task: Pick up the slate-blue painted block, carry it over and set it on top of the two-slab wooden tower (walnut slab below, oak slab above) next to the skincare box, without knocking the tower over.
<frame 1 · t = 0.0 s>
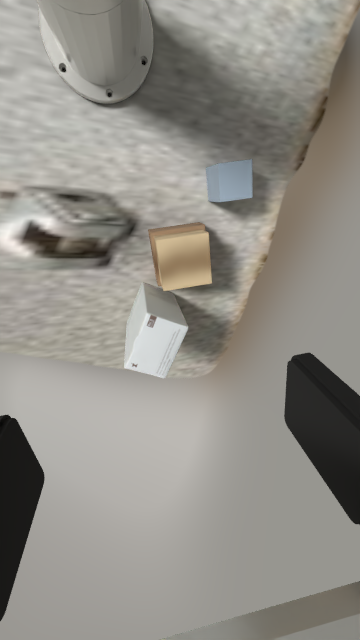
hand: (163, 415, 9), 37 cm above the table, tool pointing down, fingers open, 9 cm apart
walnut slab: (176, 251, 44), on the table, touching oak slab
skincare box: (149, 306, 47), on the table
blue block: (221, 182, 41), on the table
oak slab: (180, 256, 41), point 4 cm above the table, touching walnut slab
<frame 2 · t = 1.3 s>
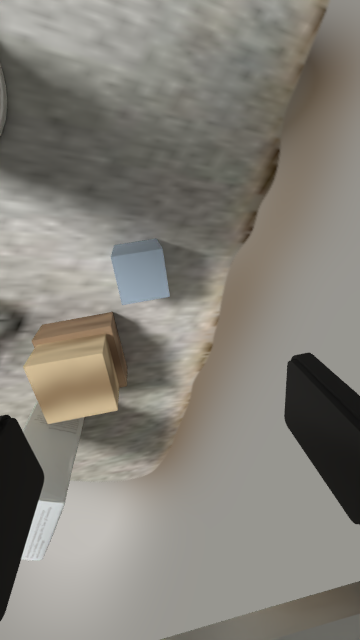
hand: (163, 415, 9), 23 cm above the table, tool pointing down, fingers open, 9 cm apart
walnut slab: (87, 346, 33), on the table, touching oak slab
skincare box: (59, 408, 36), on the table
blue block: (139, 262, 30), on the table
oak slab: (80, 366, 30), point 4 cm above the table, touching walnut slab
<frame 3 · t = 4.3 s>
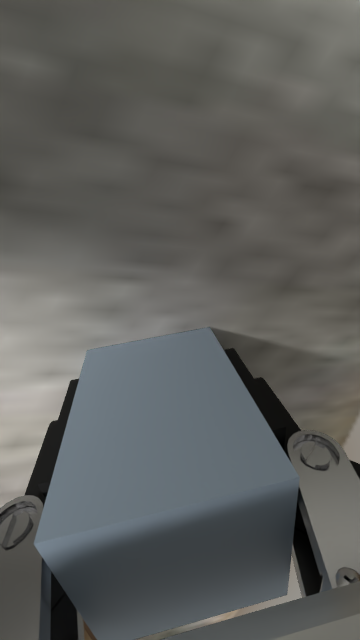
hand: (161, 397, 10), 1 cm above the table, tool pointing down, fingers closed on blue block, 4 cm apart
blue block: (159, 386, 11), on the table, touching gripper
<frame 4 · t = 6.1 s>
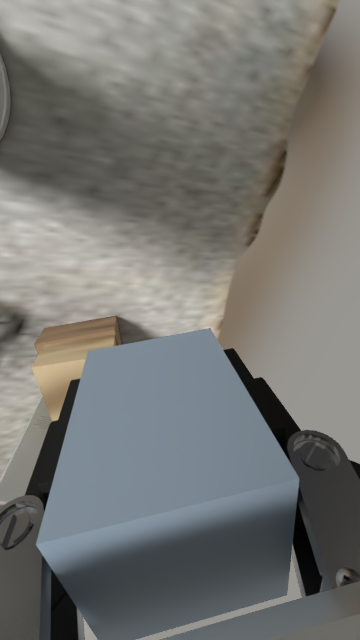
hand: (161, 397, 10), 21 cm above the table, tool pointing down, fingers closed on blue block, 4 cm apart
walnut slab: (90, 350, 33), on the table, touching oak slab
skincare box: (60, 412, 36), on the table
blue block: (159, 387, 11), point 21 cm above the table, touching gripper
oak slab: (87, 367, 29), point 4 cm above the table, touching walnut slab
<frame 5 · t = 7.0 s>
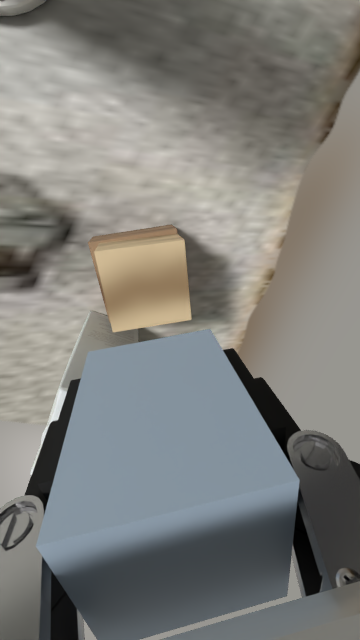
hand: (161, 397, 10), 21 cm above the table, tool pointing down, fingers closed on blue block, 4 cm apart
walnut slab: (140, 268, 30), on the table, touching oak slab
skincare box: (103, 343, 33), on the table
blue block: (159, 388, 11), point 21 cm above the table, touching gripper
oak slab: (144, 275, 26), point 4 cm above the table, touching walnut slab
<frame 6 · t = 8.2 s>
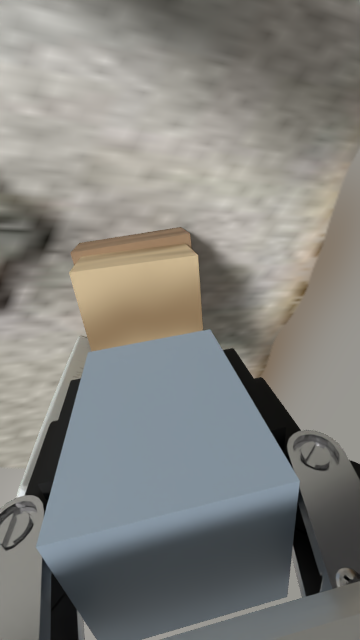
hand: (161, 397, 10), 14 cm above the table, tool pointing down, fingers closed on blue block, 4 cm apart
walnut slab: (140, 282, 23), on the table, touching oak slab
skincare box: (96, 373, 26), on the table
blue block: (159, 388, 11), point 14 cm above the table, touching gripper
oak slab: (142, 297, 20), point 4 cm above the table, touching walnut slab
when the fingers open (9 cm above the table, at t = 9.9 s): blue block drops 1 cm, resting on oak slab.
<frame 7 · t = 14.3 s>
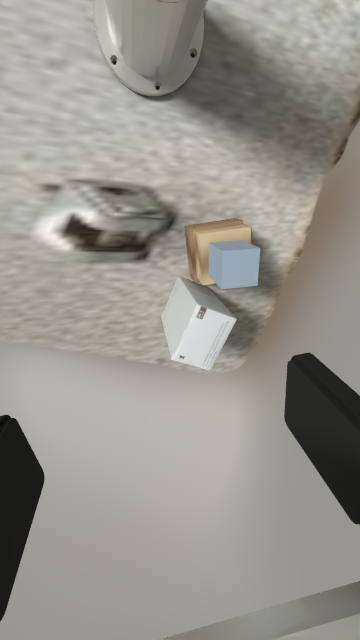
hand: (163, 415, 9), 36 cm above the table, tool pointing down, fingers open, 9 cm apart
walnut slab: (211, 247, 44), on the table, touching oak slab
skincare box: (183, 300, 47), on the table
blue block: (224, 258, 37), point 8 cm above the table, touching oak slab
oak slab: (217, 251, 41), point 4 cm above the table, touching blue block, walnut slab
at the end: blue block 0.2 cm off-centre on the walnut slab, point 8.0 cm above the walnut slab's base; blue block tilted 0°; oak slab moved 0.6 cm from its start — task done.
